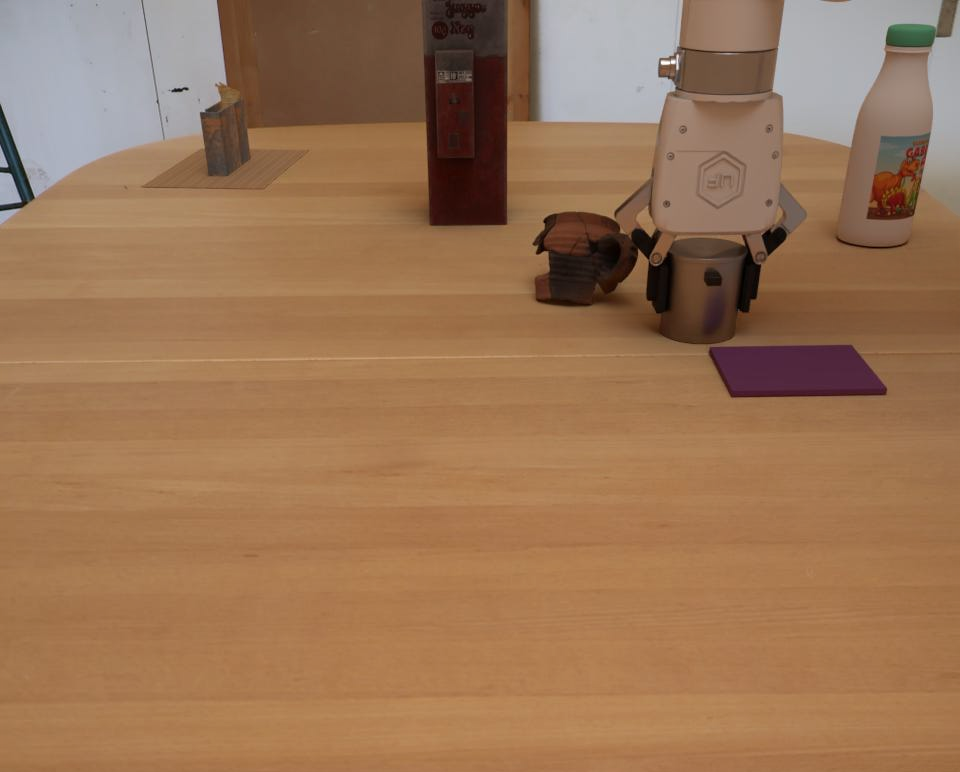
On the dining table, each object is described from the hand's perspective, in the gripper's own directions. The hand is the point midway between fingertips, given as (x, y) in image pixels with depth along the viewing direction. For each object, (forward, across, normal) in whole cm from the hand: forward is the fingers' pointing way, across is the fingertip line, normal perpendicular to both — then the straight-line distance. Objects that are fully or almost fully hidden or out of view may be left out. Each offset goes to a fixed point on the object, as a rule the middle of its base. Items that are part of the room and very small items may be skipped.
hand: (699, 306), depth 98 cm
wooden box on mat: (+2, -53, +72) cm, 89 cm away
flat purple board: (+2, +6, -10) cm, 12 cm away
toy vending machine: (+2, -20, +42) cm, 46 cm away
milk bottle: (+2, +24, +30) cm, 38 cm away
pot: (+2, 0, 0) cm, 2 cm away
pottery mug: (+2, -9, +12) cm, 15 cm away
